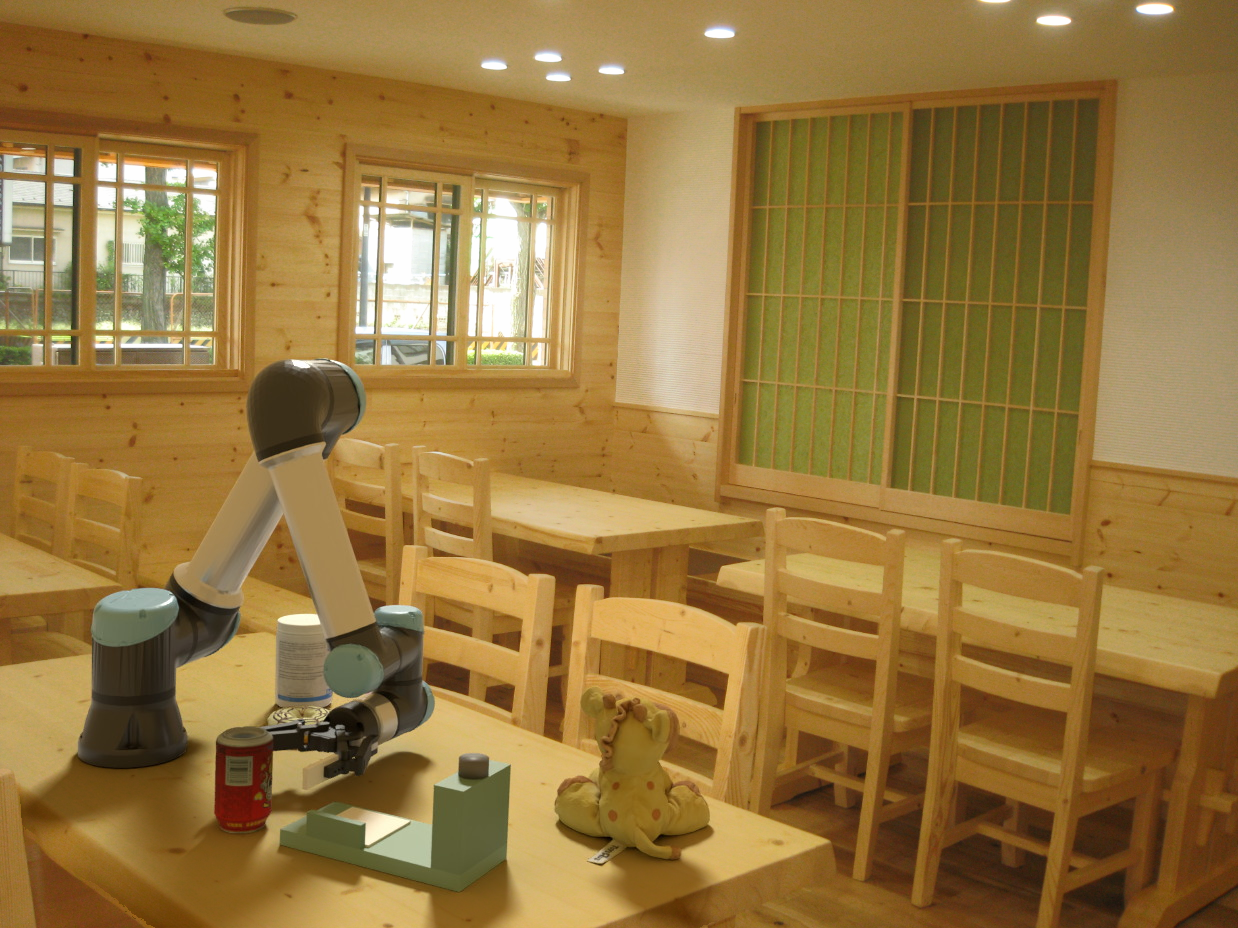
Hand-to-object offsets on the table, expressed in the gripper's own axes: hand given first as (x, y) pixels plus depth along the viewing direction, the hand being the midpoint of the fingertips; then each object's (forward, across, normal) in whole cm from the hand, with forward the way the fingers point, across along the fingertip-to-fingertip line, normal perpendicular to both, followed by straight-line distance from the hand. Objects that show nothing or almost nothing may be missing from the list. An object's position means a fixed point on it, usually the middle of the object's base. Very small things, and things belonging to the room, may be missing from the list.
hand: (261, 769), depth 162 cm
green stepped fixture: (0, -20, -7) cm, 21 cm away
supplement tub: (-44, +27, -7) cm, 52 cm away
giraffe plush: (-23, -42, -7) cm, 49 cm away
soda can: (+2, +1, -7) cm, 7 cm away
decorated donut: (-31, +18, -7) cm, 36 cm away
